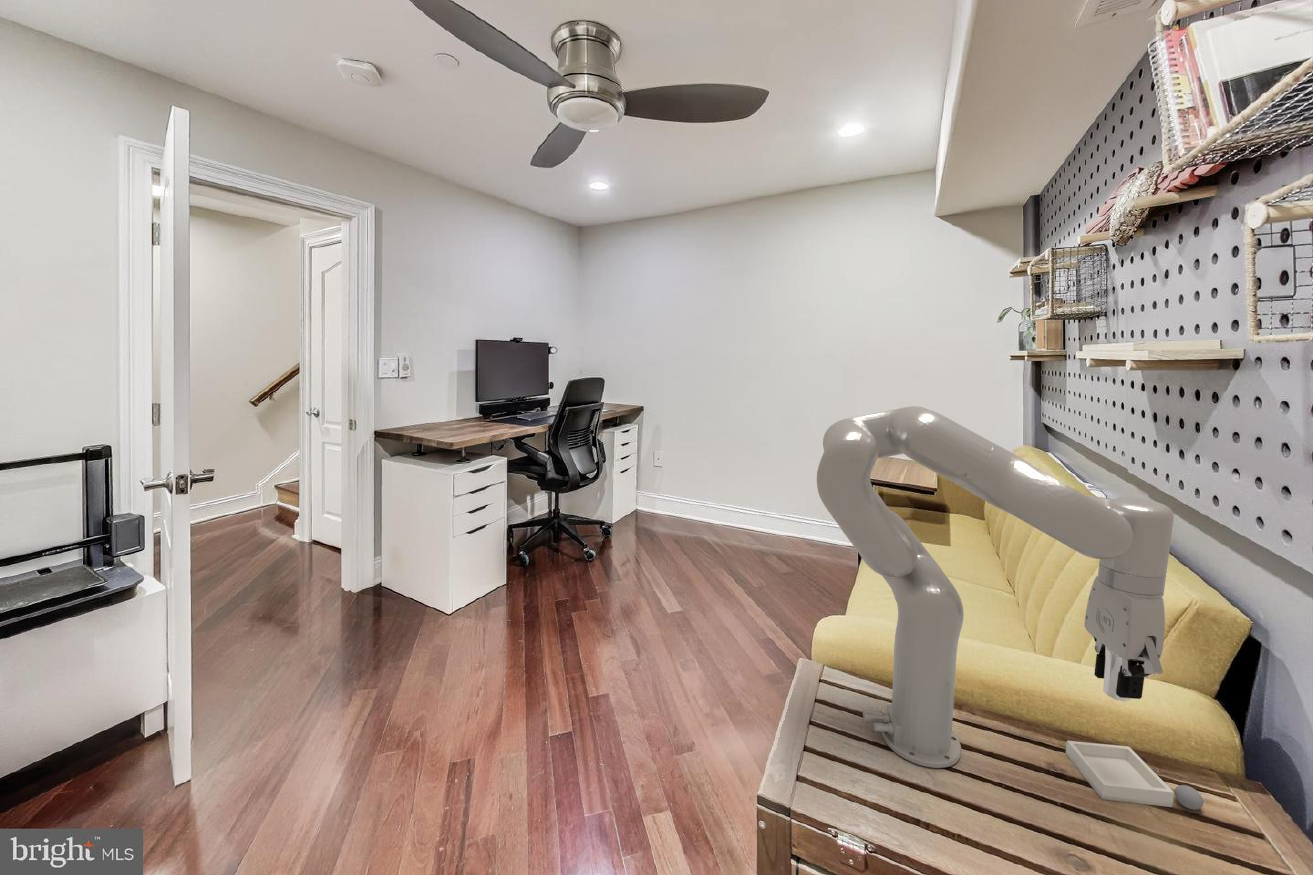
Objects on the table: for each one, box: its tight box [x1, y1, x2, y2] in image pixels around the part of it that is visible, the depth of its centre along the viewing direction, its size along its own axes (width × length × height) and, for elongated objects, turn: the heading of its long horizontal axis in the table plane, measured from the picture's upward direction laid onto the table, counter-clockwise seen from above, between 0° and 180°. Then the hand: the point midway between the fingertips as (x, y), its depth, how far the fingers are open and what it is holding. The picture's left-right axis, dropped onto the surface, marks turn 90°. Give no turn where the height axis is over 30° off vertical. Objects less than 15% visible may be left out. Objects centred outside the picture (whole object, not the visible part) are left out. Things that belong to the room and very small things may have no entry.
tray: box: [1065, 740, 1175, 808], centre depth 81 cm, size 9×9×2 cm
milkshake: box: [1102, 646, 1139, 702], centre depth 80 cm, size 5×5×10 cm
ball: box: [1173, 784, 1204, 810], centre depth 76 cm, size 3×3×3 cm
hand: (1117, 685), depth 80 cm, fingers closed on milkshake, 4 cm apart
